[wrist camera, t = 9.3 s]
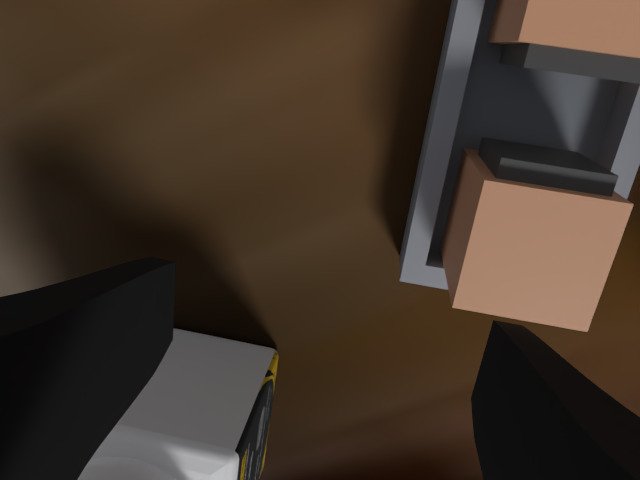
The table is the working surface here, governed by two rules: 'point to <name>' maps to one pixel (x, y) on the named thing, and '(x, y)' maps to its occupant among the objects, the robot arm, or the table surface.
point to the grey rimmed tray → (519, 181)
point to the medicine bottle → (195, 415)
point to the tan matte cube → (570, 36)
